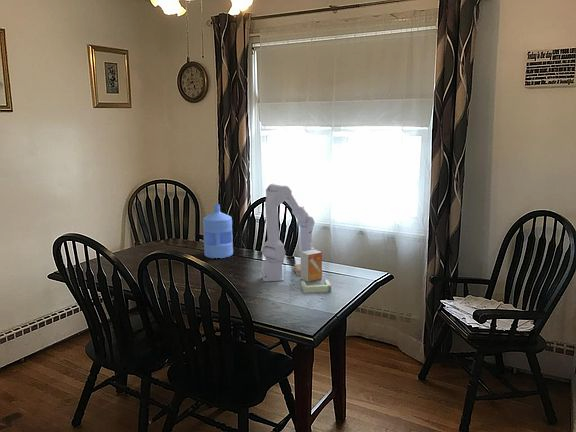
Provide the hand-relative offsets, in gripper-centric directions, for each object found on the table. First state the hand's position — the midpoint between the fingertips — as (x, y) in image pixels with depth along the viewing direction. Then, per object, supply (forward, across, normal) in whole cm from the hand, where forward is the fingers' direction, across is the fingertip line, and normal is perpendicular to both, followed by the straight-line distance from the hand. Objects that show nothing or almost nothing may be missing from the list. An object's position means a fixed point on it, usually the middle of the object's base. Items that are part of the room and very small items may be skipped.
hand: (306, 266), depth 244 cm
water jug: (+1, +29, +44) cm, 53 cm away
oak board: (+2, -6, 0) cm, 6 cm away
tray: (+1, -30, 0) cm, 30 cm away
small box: (+1, -16, 0) cm, 16 cm away
